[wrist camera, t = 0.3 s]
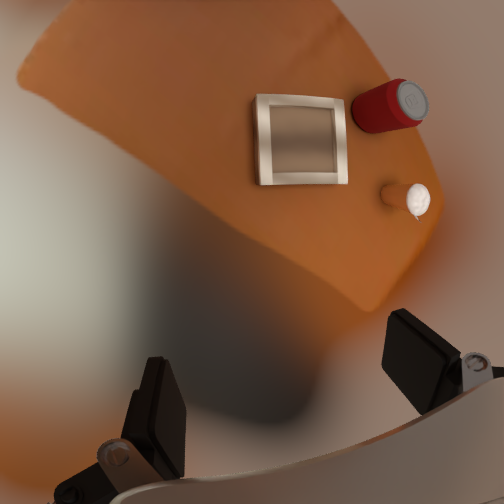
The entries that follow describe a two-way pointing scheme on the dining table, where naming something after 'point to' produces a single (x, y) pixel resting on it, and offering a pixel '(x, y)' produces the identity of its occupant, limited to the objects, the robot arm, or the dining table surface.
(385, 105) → the beverage can
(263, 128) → the white square tray
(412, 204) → the milkshake
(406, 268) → the dining table surface
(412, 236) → the dining table surface
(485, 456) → the robot arm
